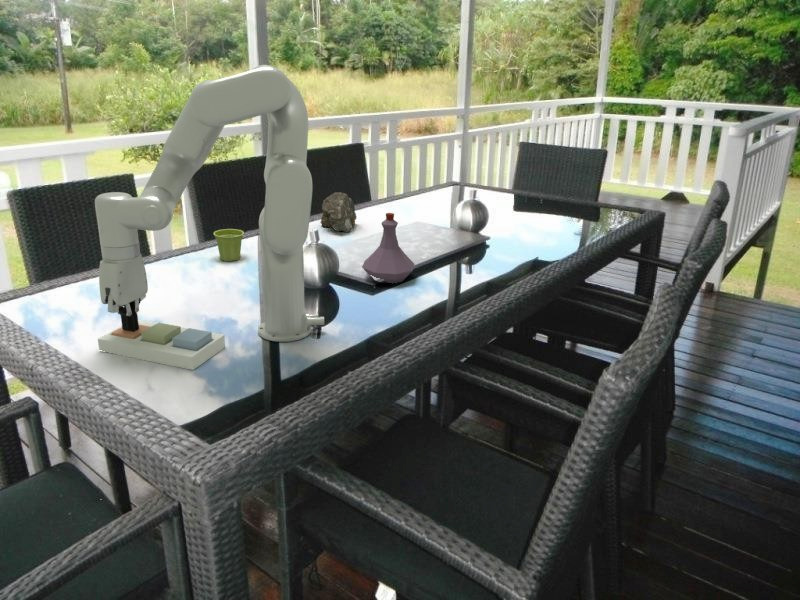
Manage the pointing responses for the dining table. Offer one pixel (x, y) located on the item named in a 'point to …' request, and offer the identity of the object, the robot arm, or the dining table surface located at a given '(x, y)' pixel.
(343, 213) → the rock
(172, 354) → the keypad
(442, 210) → the dining table surface
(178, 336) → the slate blue key
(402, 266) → the flask
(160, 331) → the olive key
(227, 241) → the plant pot
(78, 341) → the dining table surface
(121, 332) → the terracotta key
